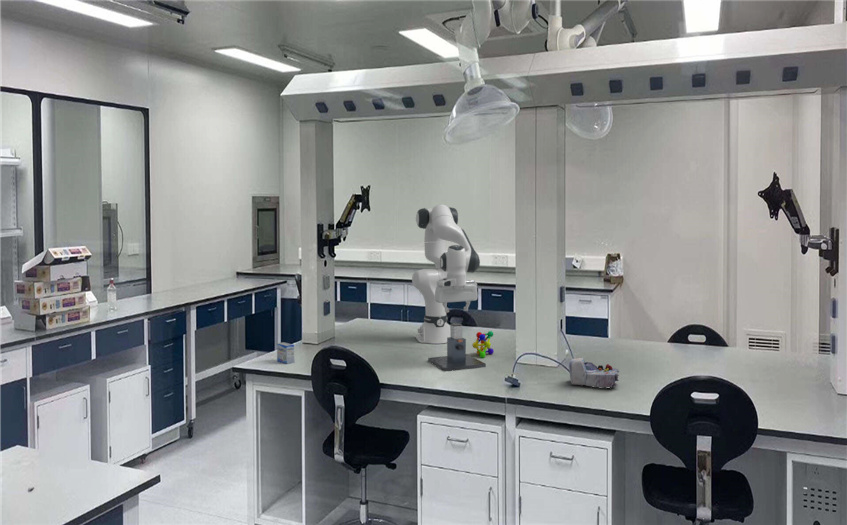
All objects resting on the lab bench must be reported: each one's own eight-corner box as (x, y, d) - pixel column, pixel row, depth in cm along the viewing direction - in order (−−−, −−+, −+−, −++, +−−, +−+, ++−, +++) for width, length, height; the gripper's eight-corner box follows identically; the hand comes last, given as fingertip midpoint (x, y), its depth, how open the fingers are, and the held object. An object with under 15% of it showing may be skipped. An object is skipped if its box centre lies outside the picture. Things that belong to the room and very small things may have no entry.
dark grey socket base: (428, 361, 310) (427, 335, 309) (466, 357, 318) (466, 332, 316) (445, 371, 292) (445, 344, 290) (485, 366, 299) (485, 340, 298)
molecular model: (484, 358, 314) (484, 334, 313) (471, 356, 318) (471, 333, 317) (495, 354, 323) (495, 331, 322) (482, 352, 327) (483, 329, 327)
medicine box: (277, 361, 311) (276, 343, 310) (284, 359, 314) (284, 341, 313) (286, 364, 305) (286, 345, 304) (294, 362, 308) (294, 344, 308)
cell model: (569, 354, 277) (618, 357, 273) (568, 379, 278) (617, 382, 274) (569, 361, 265) (621, 365, 261) (568, 387, 266) (620, 391, 262)
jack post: (450, 359, 306) (450, 323, 304) (458, 358, 307) (458, 322, 305) (454, 361, 302) (454, 325, 300) (462, 360, 303) (462, 324, 302)
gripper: (474, 279, 308) (474, 308, 309) (433, 281, 300) (433, 311, 301) (480, 280, 302) (480, 310, 303) (438, 283, 294) (438, 313, 295)
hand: (456, 311), depth 302 cm, fingers open, 8 cm apart
